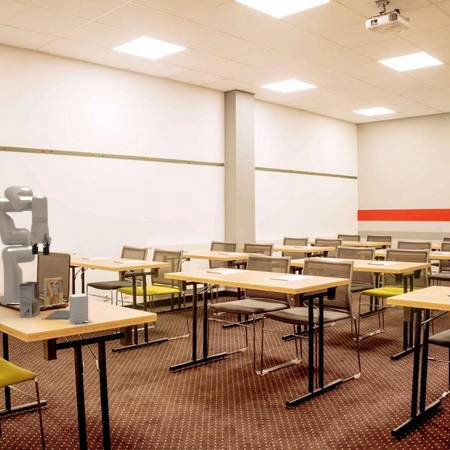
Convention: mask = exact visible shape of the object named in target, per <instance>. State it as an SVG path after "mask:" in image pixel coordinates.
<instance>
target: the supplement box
mask: <svg viewBox="0 0 450 450" xmlns="http://www.w3.org/2000/svg"><path fill="white" fill-rule="evenodd" d="M68 297H69V310H70V318H69V322H70V321H71V322H72V323H77V324H79V323H78V322H85V321H88V322H89V296H88V295H87V294H86V293H76V294H69V295H68ZM71 322H70V323H71ZM72 323H71V324H72Z"/></svg>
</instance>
